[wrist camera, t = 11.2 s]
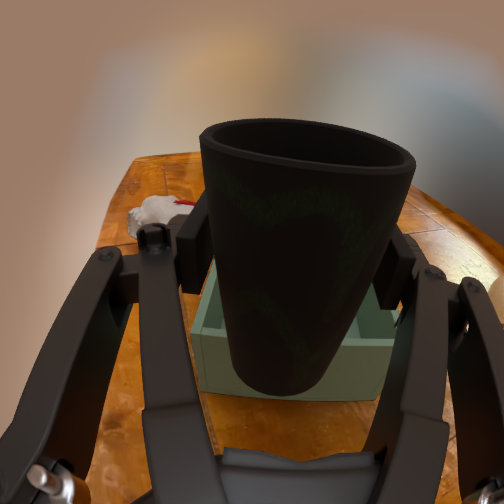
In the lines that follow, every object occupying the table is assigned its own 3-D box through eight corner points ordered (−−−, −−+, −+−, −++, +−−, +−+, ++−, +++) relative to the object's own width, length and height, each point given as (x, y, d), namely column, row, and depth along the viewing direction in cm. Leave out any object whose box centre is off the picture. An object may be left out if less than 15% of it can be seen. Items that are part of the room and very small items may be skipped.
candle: (127, 243, 48) (208, 232, 55) (142, 282, 40) (237, 264, 47) (125, 192, 43) (212, 185, 51) (139, 222, 35) (245, 210, 43)
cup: (316, 436, 12) (417, 196, 6) (184, 373, 15) (150, 141, 9) (358, 334, 18) (415, 143, 11) (253, 295, 21) (263, 113, 14)
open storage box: (200, 391, 27) (189, 332, 22) (226, 280, 42) (226, 222, 37) (374, 400, 26) (410, 345, 21) (352, 290, 41) (367, 235, 36)
